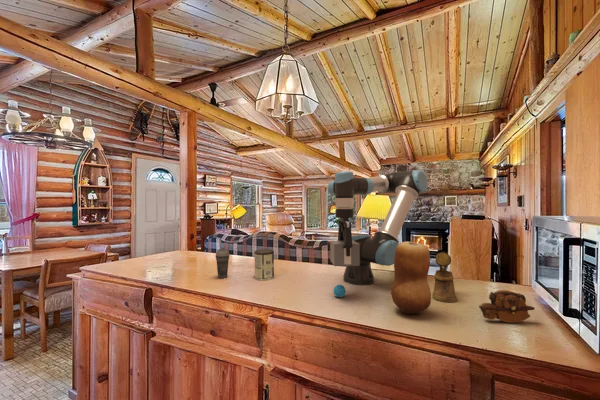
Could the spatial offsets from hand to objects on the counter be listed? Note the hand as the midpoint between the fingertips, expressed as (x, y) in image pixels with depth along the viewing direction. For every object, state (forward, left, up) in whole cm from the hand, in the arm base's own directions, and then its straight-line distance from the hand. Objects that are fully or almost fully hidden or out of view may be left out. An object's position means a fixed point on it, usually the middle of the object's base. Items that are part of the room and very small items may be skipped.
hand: (344, 261), depth 119 cm
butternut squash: (-20, +18, -15) cm, 31 cm away
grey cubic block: (0, 0, -1) cm, 1 cm away
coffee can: (+36, -33, -15) cm, 51 cm away
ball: (+2, 0, -12) cm, 13 cm away
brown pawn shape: (-41, +3, -15) cm, 44 cm away
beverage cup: (+58, -34, -15) cm, 69 cm away
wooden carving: (-48, +28, -15) cm, 58 cm away
